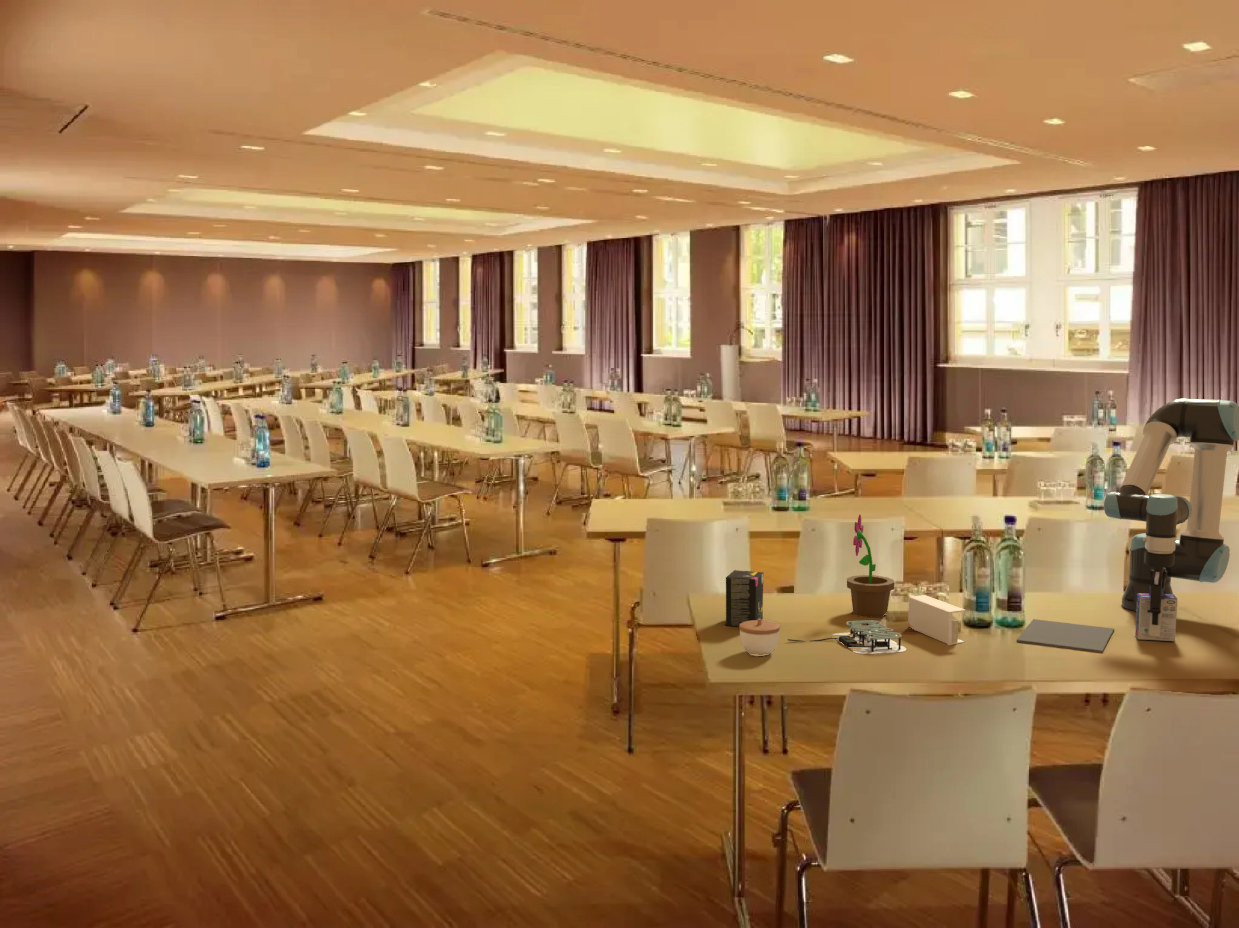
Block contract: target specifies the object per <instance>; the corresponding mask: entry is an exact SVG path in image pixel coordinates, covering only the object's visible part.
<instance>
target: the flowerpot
mask: <svg viewBox="0 0 1239 928" xmlns="http://www.w3.org/2000/svg"><path fill="white" fill-rule="evenodd" d="M854 532H855V533H856V535H854V537H853V542H852V543H853V544H852V545H853V546H855V551H854V552H855V556H857V557H858V556H859V552H860V548H861V549H862V548H863V543H864V545H865V548H866V550H867V554H865V555H864V556H863V557H862V558H861V559H860V560H859V562H858V563H859V564H860V565H862V566H865V567H866V566H869V567H868V575H867V574H866V575H865V574H860V575H853V576H850V577H847V578H846V587H847V588H848V589H849V590H850V594H851V595H850V597H851V605H852V614H853V615H855V616H857V617H862V618H871V619H872V618H873V619H874V618H883V617H884V616H883V615H884V614H885V613H886V612H887V613H888V609H889V601H890V595H891V591H893V590H895V580H894V579H893V578H890V577H888V576H881V575H873V572H875V571H876V567H877V566H876V563H873V557H872V552H871V547H870V544H869V543H868V541H867V538H866V537H865V535H864V534H863V533H864V525H863V524H862V515H861V514H859V515H858V517H857V521H855V522H854ZM882 616H883V617H882Z"/></svg>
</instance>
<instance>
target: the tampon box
mask: <svg viewBox="0 0 1239 928" xmlns="http://www.w3.org/2000/svg"><path fill="white" fill-rule="evenodd" d="M763 606H764V572H763V571H752V570H736V569H734V570H733V571H732V572H731V573H729V574H728V575H727V576H726V577H725V626H726V625H731V626H732V627H738V626H739V625H740V624H741V623H742V622H746V621H752V620H758V619H761V620H762V619H763V620H764V616H763V615H764V614H763V612H764V610H763V609H764V607H763ZM731 626H730V627H731Z"/></svg>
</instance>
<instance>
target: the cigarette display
mask: <svg viewBox="0 0 1239 928" xmlns="http://www.w3.org/2000/svg"><path fill="white" fill-rule="evenodd" d="M966 611H967V610H966V609H965V608H961V607H959V606H956V605H953V604H951V603H948V602H945V601H943V600H940V599H936V598H934V597H931V596H929V595H926V594H923V595H914V596H908V616H907V617H908V619H907V621H908V622H907V624H908V623H909V624H910V625H911V627H912V629H911V630H913V629H914V631H915V632H918V633H920V634H923V635H925V636H928V637H930V638H932V639H935V640H937V641H940V642H942V643H944V644H946V645H947V646H952V645H958V644H964V643H965V641H964V640H961V639H959V620H957V619H953V614H954V613H963V612H966Z"/></svg>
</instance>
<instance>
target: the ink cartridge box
mask: <svg viewBox="0 0 1239 928" xmlns="http://www.w3.org/2000/svg"><path fill="white" fill-rule="evenodd" d="M1150 602H1151V586H1149V594H1145V593H1137V609H1136V611H1135V612H1136V615H1135V634H1134V635H1135V638H1136V639H1137V640H1143V641H1145V640H1146V641H1147V640H1148V641H1161V642H1162V641H1165V642H1175V641H1176V633H1177V632H1176V631H1177V629H1176V628H1177V611H1178V597H1176V595H1175V594H1174V593H1173V594H1164V589H1162V598H1161V627H1160V637H1159V636H1150V635H1149V625H1150V613H1149V612H1147V610H1150Z"/></svg>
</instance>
